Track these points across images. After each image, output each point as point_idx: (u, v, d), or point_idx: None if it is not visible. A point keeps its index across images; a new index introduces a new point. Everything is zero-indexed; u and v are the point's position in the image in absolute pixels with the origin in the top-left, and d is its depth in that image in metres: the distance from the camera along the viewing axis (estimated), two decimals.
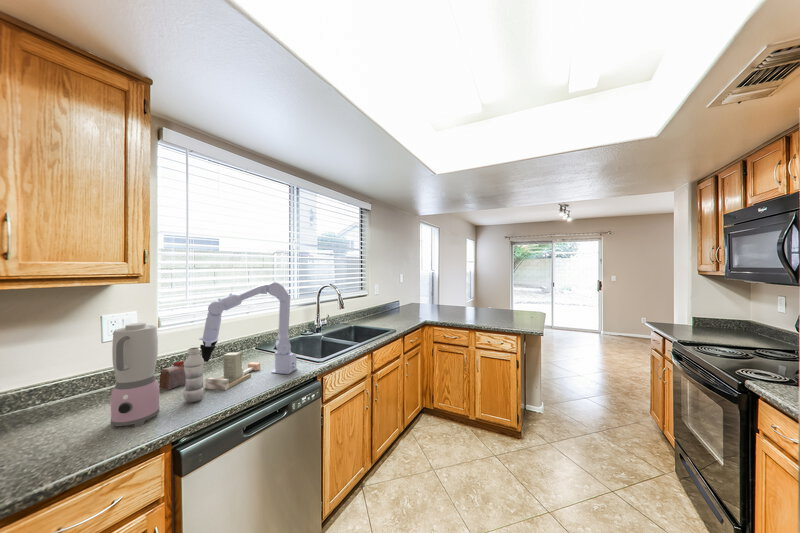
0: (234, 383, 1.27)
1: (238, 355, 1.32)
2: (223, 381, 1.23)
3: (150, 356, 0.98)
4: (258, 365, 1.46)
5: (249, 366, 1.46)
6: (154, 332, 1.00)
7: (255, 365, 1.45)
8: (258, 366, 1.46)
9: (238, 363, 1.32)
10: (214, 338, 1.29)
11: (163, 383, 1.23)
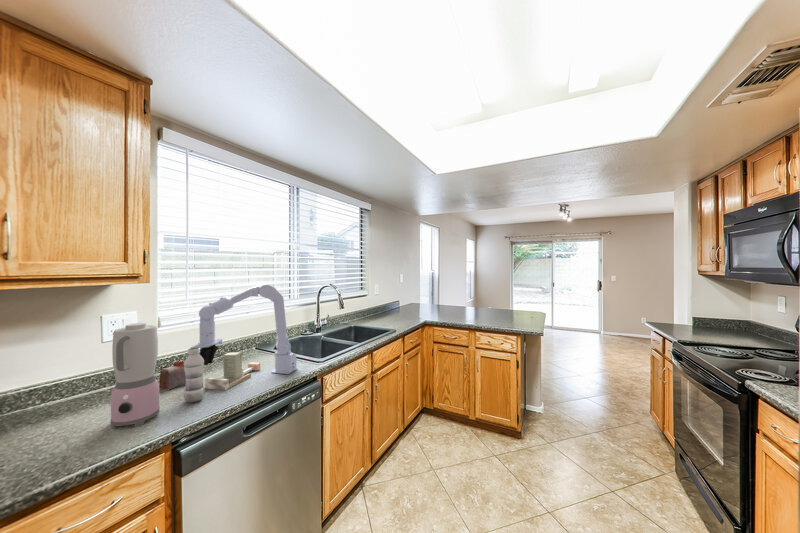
0: (234, 383, 1.27)
1: (238, 355, 1.32)
2: (223, 381, 1.23)
3: (151, 356, 0.98)
4: (258, 365, 1.46)
5: (249, 366, 1.46)
6: (154, 332, 1.00)
7: (255, 365, 1.45)
8: (258, 366, 1.46)
9: (238, 363, 1.32)
10: (206, 343, 1.28)
11: (163, 383, 1.23)
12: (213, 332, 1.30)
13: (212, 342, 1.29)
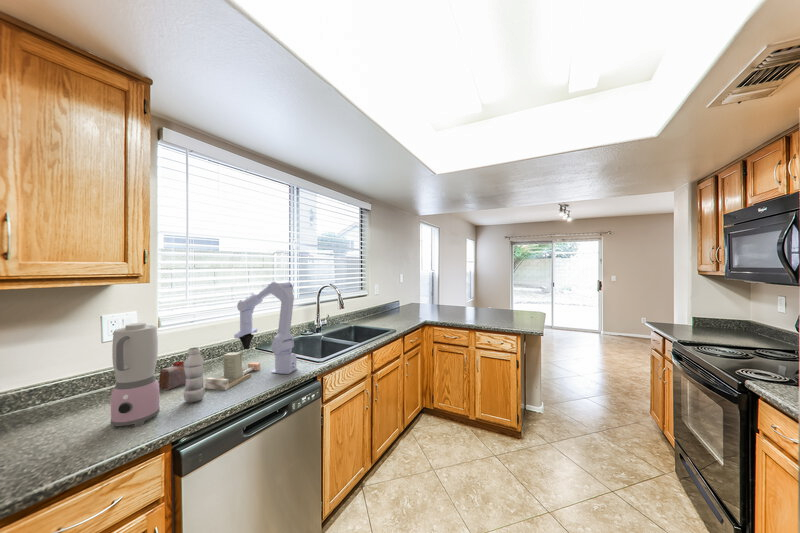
0: (234, 383, 1.27)
1: (238, 355, 1.32)
2: (223, 381, 1.23)
3: (150, 356, 0.98)
4: (258, 365, 1.46)
5: (249, 366, 1.46)
6: (154, 332, 1.00)
7: (255, 365, 1.45)
8: (258, 366, 1.46)
9: (238, 363, 1.32)
10: (246, 331, 1.51)
11: (163, 383, 1.23)
12: (247, 323, 1.52)
13: (250, 330, 1.53)
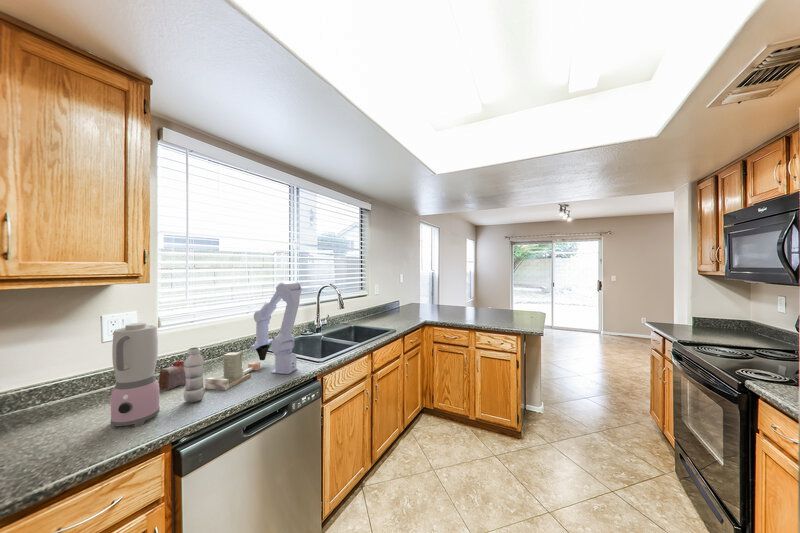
0: (234, 383, 1.27)
1: (238, 355, 1.32)
2: (223, 381, 1.23)
3: (150, 356, 0.98)
4: (258, 365, 1.46)
5: (249, 366, 1.46)
6: (154, 332, 1.00)
7: (255, 365, 1.45)
8: (258, 366, 1.46)
9: (238, 363, 1.32)
10: (262, 342, 1.50)
11: (162, 383, 1.23)
12: (262, 334, 1.50)
13: (267, 341, 1.52)
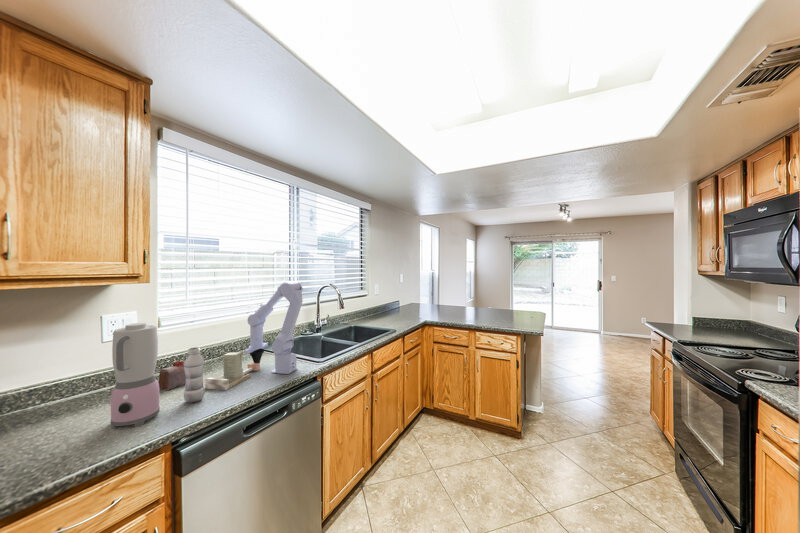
0: (234, 383, 1.27)
1: (238, 355, 1.32)
2: (223, 381, 1.23)
3: (150, 356, 0.98)
4: (258, 365, 1.46)
5: (249, 366, 1.45)
6: (154, 332, 1.00)
7: (255, 365, 1.45)
8: (258, 366, 1.46)
9: (238, 363, 1.32)
10: (256, 346, 1.46)
11: (162, 383, 1.23)
12: (258, 337, 1.46)
13: (261, 345, 1.48)
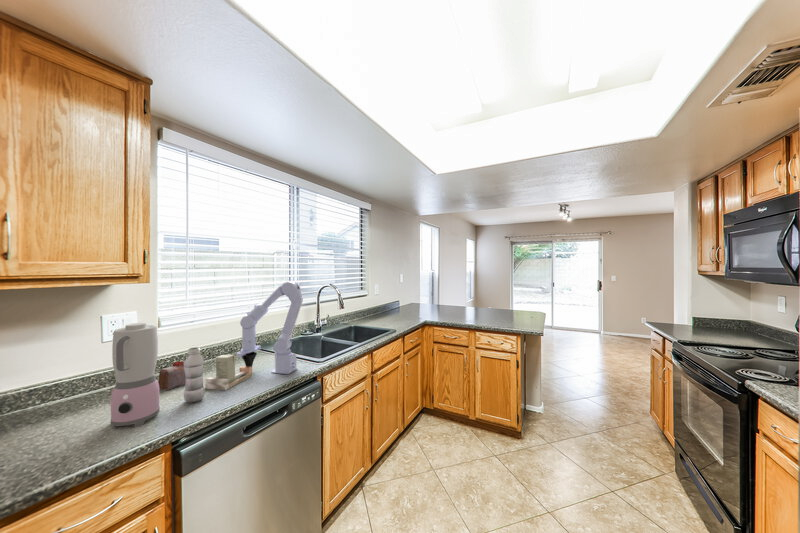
0: (234, 383, 1.27)
1: (230, 358, 1.28)
2: (223, 381, 1.23)
3: (150, 356, 0.98)
4: (250, 369, 1.40)
5: (240, 370, 1.40)
6: (154, 332, 1.00)
7: (247, 369, 1.39)
8: (250, 370, 1.40)
9: (230, 366, 1.28)
10: (248, 349, 1.40)
11: (162, 383, 1.23)
12: (253, 340, 1.42)
13: (253, 348, 1.42)
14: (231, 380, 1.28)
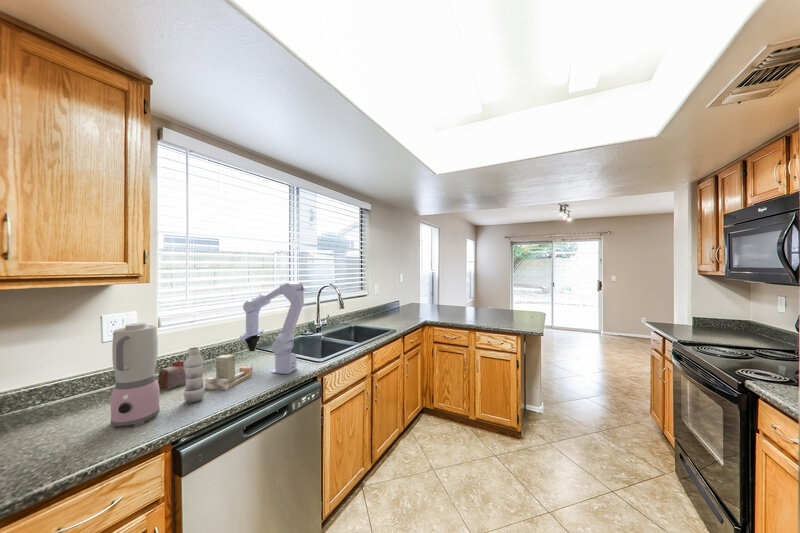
0: (234, 383, 1.27)
1: (230, 358, 1.28)
2: (223, 381, 1.23)
3: (150, 357, 0.98)
4: (250, 369, 1.40)
5: (241, 370, 1.40)
6: (154, 332, 1.00)
7: (247, 369, 1.39)
8: (250, 370, 1.40)
9: (230, 366, 1.28)
10: (252, 333, 1.47)
11: (162, 383, 1.23)
12: (254, 324, 1.48)
13: (256, 332, 1.49)
14: (231, 380, 1.28)
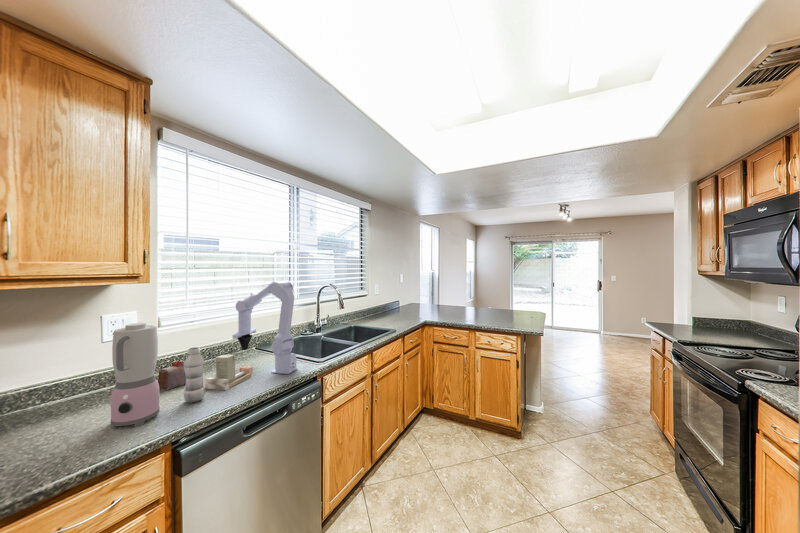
0: (234, 383, 1.27)
1: (230, 358, 1.28)
2: (223, 381, 1.23)
3: (150, 356, 0.98)
4: (250, 369, 1.40)
5: (241, 370, 1.40)
6: (154, 332, 1.00)
7: (247, 369, 1.39)
8: (250, 370, 1.40)
9: (230, 366, 1.28)
10: (244, 332, 1.50)
11: (162, 383, 1.23)
12: (246, 323, 1.51)
13: (249, 331, 1.52)
14: (231, 380, 1.28)
